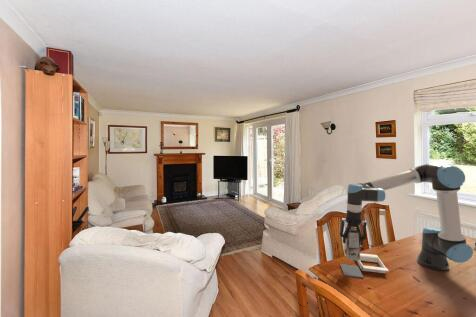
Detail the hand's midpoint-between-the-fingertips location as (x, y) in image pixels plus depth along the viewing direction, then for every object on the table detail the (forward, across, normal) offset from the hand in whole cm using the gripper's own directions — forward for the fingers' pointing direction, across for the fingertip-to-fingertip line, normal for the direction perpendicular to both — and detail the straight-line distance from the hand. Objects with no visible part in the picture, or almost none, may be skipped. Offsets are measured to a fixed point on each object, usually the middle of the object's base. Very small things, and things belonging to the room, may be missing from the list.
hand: (352, 249), depth 136 cm
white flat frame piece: (+13, -13, -9) cm, 21 cm away
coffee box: (+5, 0, 0) cm, 5 cm away
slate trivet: (+14, 0, 0) cm, 14 cm away
